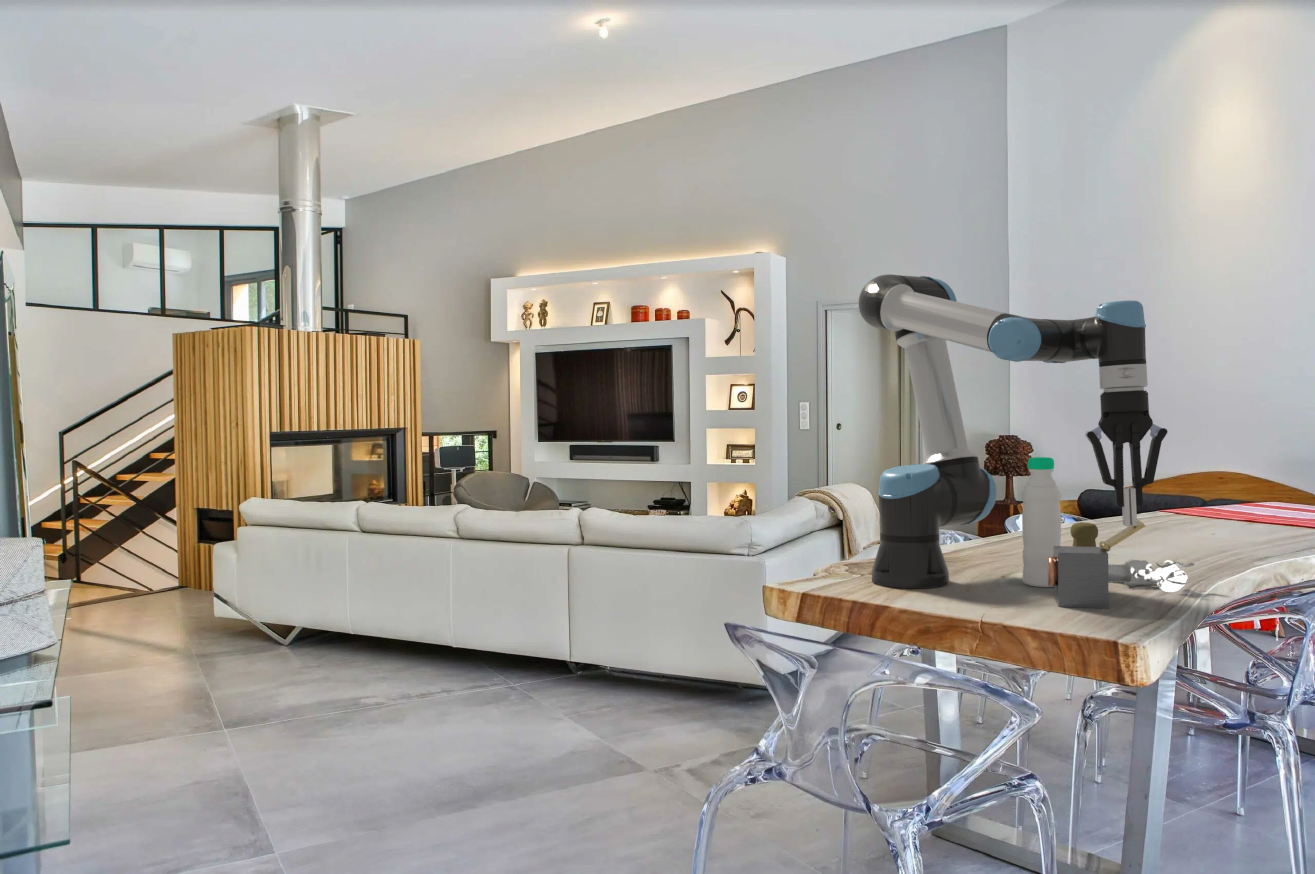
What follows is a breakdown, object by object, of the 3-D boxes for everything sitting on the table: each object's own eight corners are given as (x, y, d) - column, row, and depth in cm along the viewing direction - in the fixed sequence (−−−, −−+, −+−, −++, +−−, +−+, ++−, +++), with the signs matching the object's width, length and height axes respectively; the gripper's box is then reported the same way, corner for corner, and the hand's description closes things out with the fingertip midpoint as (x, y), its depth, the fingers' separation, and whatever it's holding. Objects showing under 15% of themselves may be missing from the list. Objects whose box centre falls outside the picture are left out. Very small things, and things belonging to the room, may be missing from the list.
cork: (1104, 579, 192) (1103, 524, 191) (1072, 578, 193) (1071, 524, 193) (1096, 573, 198) (1096, 521, 197) (1065, 573, 199) (1065, 520, 199)
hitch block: (1058, 606, 167) (1058, 552, 167) (1054, 597, 175) (1053, 545, 175) (1108, 608, 165) (1108, 553, 165) (1101, 599, 172) (1101, 546, 172)
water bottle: (1044, 589, 183) (1042, 458, 182) (1014, 583, 189) (1013, 457, 188) (1069, 585, 186) (1068, 457, 185) (1039, 580, 192) (1038, 456, 192)
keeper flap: (1105, 552, 166) (1101, 547, 166) (1102, 549, 170) (1097, 543, 171) (1146, 527, 164) (1142, 521, 164) (1141, 524, 168) (1137, 518, 169)
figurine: (1145, 559, 189) (1200, 556, 178) (1149, 592, 188) (1204, 591, 177) (1110, 560, 185) (1163, 557, 174) (1113, 593, 184) (1167, 592, 173)
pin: (1049, 588, 169) (1049, 559, 169) (1047, 583, 174) (1046, 554, 174) (1132, 591, 165) (1131, 561, 165) (1126, 585, 170) (1126, 556, 170)
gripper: (1084, 392, 165) (1091, 528, 165) (1171, 387, 161) (1177, 526, 161) (1079, 393, 172) (1085, 523, 172) (1161, 388, 168) (1168, 522, 168)
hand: (1129, 525), depth 167 cm, fingers closed
